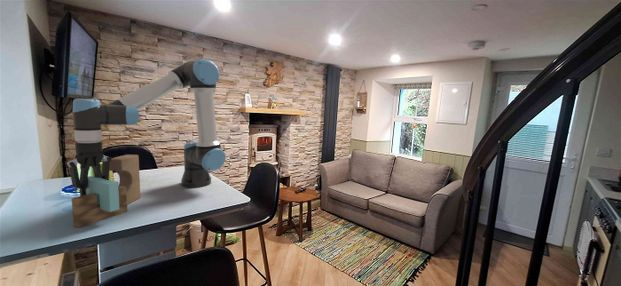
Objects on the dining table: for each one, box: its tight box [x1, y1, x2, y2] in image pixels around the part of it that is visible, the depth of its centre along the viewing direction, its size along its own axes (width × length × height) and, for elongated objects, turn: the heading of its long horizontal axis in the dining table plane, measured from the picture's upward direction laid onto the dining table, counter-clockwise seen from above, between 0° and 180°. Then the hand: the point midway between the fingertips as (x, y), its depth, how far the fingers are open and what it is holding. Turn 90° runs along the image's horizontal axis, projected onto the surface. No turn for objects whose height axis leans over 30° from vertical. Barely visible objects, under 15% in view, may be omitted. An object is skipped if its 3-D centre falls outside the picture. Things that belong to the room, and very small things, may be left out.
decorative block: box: [109, 154, 141, 206], centre depth 110 cm, size 11×6×20 cm, turn 179°
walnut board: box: [71, 185, 128, 229], centre depth 95 cm, size 16×3×10 cm, turn 158°
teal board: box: [87, 175, 119, 212], centre depth 94 cm, size 16×3×10 cm, turn 68°
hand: (92, 203), depth 97 cm, fingers closed on teal board, 3 cm apart
